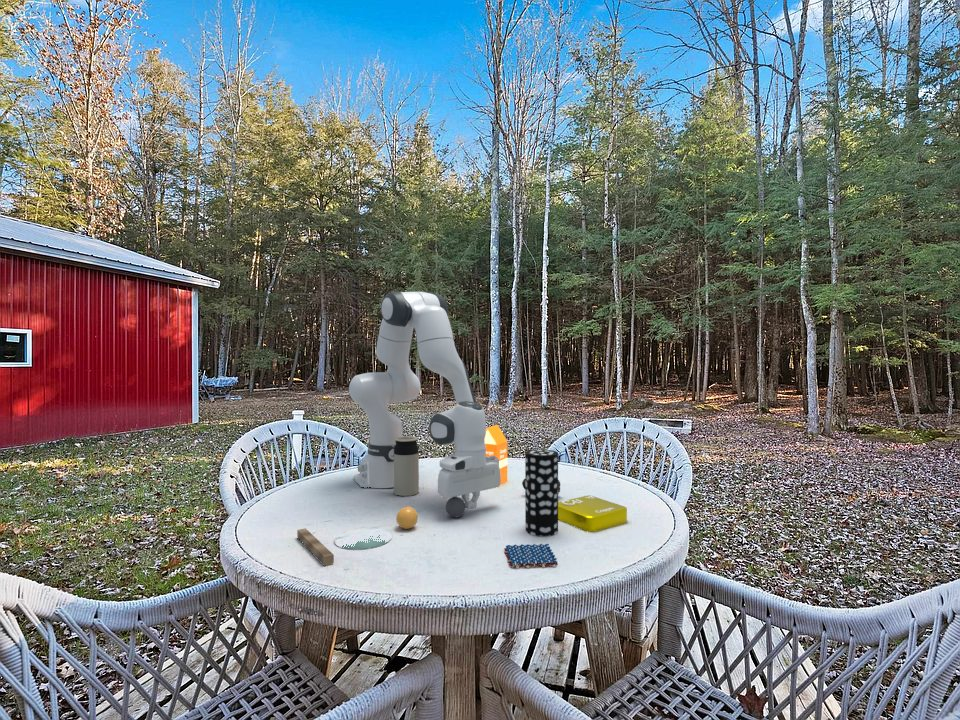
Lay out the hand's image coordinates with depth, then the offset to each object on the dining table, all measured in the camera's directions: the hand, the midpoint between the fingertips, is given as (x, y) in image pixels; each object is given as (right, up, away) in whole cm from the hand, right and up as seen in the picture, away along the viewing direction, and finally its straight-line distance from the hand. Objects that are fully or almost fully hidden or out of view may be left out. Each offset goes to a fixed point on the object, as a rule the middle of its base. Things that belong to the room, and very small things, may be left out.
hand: (470, 507), depth 140 cm
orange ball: (-16, +1, -12) cm, 20 cm away
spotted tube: (+18, -2, -14) cm, 23 cm away
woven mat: (+14, -3, -31) cm, 34 cm away
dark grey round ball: (-4, +1, -3) cm, 5 cm away
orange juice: (+7, -1, +32) cm, 33 cm away
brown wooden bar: (-36, -2, -26) cm, 44 cm away
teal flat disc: (-26, -2, -19) cm, 32 cm away
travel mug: (-21, -2, +20) cm, 29 cm away
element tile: (+33, -2, -6) cm, 33 cm away
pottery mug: (+22, -2, +16) cm, 27 cm away
